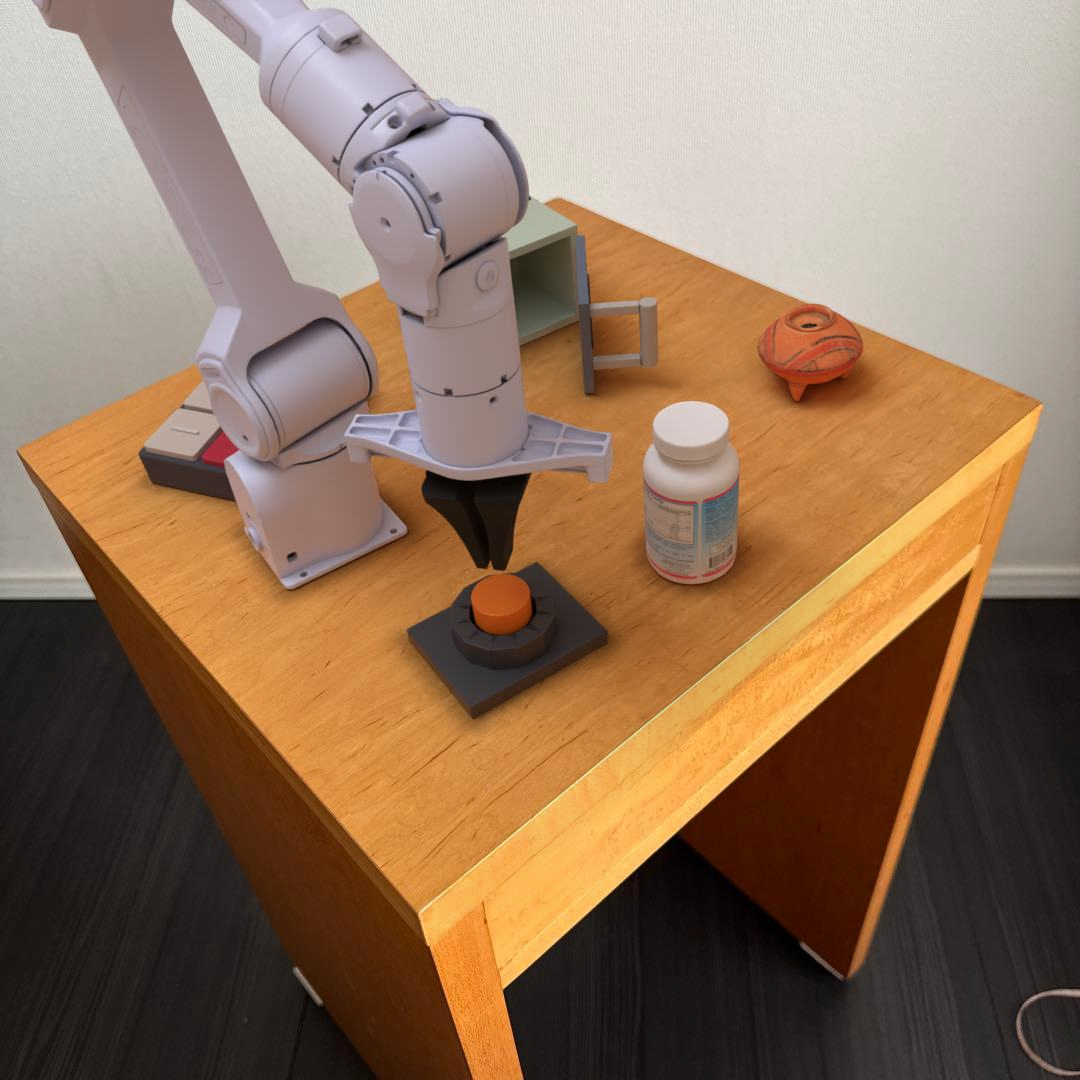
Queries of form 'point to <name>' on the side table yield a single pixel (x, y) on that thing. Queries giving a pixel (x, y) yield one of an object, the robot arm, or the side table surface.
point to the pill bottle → (691, 494)
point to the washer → (543, 271)
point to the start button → (501, 604)
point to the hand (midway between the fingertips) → (494, 558)
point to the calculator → (190, 449)
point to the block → (506, 644)
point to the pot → (810, 346)
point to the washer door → (588, 310)
